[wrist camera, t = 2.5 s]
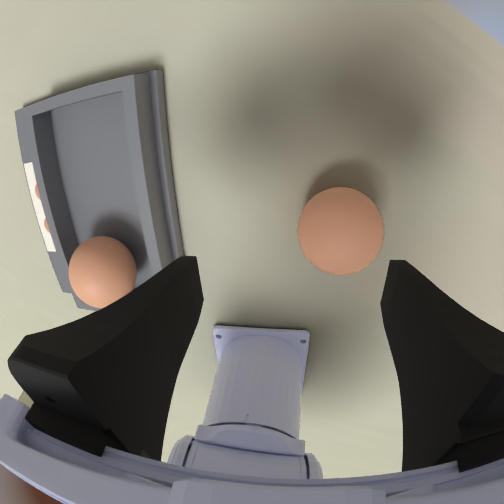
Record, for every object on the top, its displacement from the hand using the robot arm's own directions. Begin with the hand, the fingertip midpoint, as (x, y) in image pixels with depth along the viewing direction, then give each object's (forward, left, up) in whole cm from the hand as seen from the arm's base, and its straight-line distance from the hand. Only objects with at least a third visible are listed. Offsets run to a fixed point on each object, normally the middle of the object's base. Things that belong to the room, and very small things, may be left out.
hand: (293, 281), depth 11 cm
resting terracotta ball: (-4, +13, -8) cm, 16 cm away
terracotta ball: (-1, -3, -9) cm, 10 cm away
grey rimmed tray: (0, +14, -9) cm, 17 cm away
